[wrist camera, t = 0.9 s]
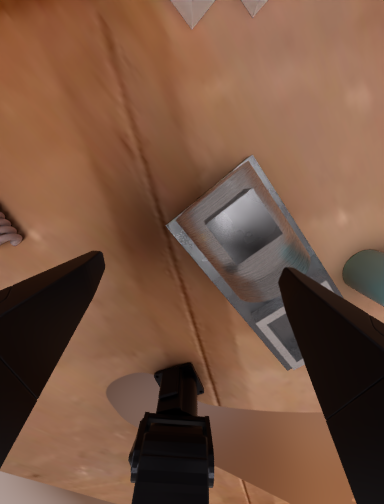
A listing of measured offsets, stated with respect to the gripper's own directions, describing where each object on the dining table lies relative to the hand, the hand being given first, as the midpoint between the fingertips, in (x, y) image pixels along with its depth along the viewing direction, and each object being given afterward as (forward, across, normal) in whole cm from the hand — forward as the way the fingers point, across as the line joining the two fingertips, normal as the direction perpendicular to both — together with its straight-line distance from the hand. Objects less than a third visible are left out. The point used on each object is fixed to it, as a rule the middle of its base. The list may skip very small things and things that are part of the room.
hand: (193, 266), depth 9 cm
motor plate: (+12, -11, +10) cm, 19 cm away
